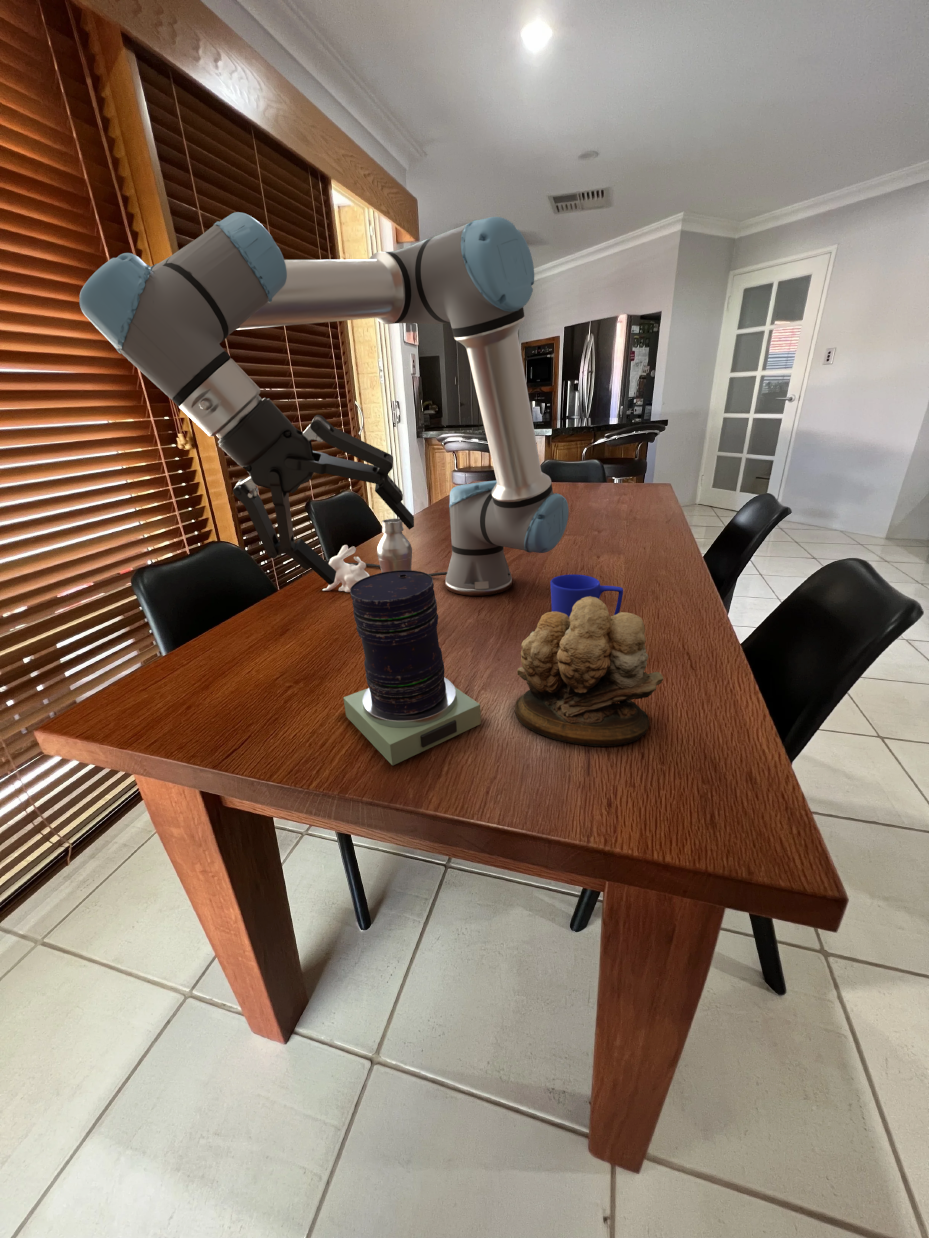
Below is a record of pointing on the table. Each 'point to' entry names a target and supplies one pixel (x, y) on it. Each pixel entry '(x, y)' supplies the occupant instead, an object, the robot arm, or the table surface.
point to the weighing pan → (416, 718)
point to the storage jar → (400, 640)
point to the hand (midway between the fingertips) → (371, 551)
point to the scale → (412, 728)
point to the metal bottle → (394, 547)
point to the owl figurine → (586, 676)
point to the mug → (577, 591)
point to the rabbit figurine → (346, 570)
